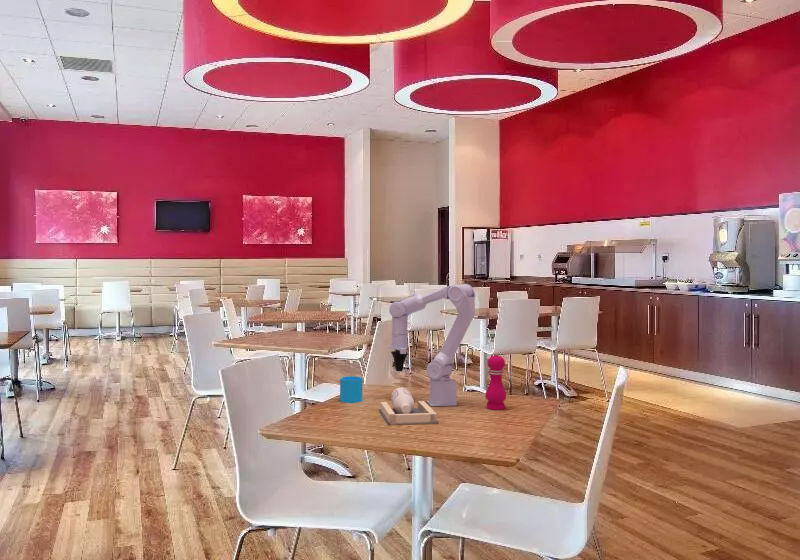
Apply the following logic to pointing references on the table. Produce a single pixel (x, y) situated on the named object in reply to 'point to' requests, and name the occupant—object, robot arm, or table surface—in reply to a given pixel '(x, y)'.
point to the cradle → (408, 415)
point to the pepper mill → (496, 383)
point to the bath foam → (402, 401)
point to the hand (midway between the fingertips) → (399, 370)
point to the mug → (351, 389)
